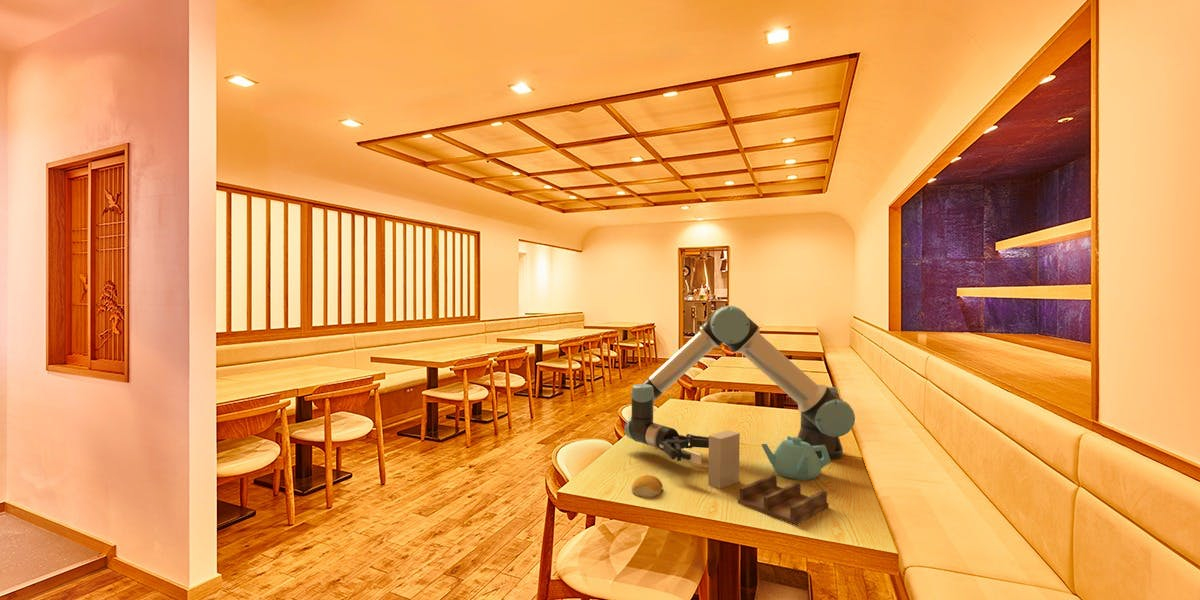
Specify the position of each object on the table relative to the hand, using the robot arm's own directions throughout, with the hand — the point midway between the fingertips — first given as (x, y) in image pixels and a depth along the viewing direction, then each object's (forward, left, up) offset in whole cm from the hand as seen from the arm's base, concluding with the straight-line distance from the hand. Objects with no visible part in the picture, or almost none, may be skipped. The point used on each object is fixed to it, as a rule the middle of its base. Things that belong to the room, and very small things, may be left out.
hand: (716, 454), depth 140 cm
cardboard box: (-2, +1, -8) cm, 8 cm away
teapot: (-24, -12, -8) cm, 28 cm away
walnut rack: (-16, +13, -8) cm, 22 cm away
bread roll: (+19, +12, -8) cm, 24 cm away
